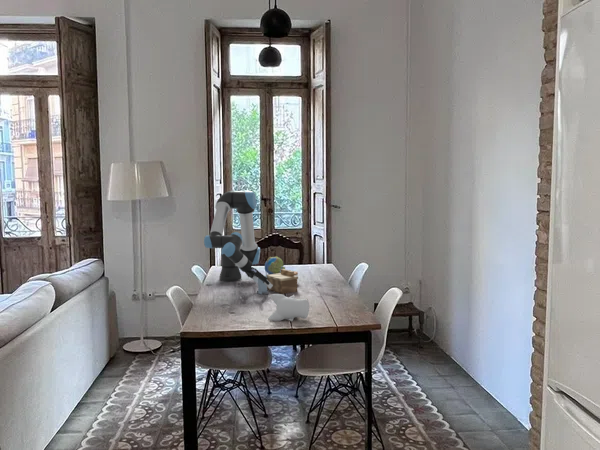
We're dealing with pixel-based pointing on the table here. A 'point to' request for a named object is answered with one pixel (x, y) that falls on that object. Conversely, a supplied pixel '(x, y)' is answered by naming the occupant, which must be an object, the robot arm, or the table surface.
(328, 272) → the table surface
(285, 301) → the fox head
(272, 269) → the globe
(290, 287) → the toolbox
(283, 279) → the lid
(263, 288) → the blue-grey block
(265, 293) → the pair of grey bars
